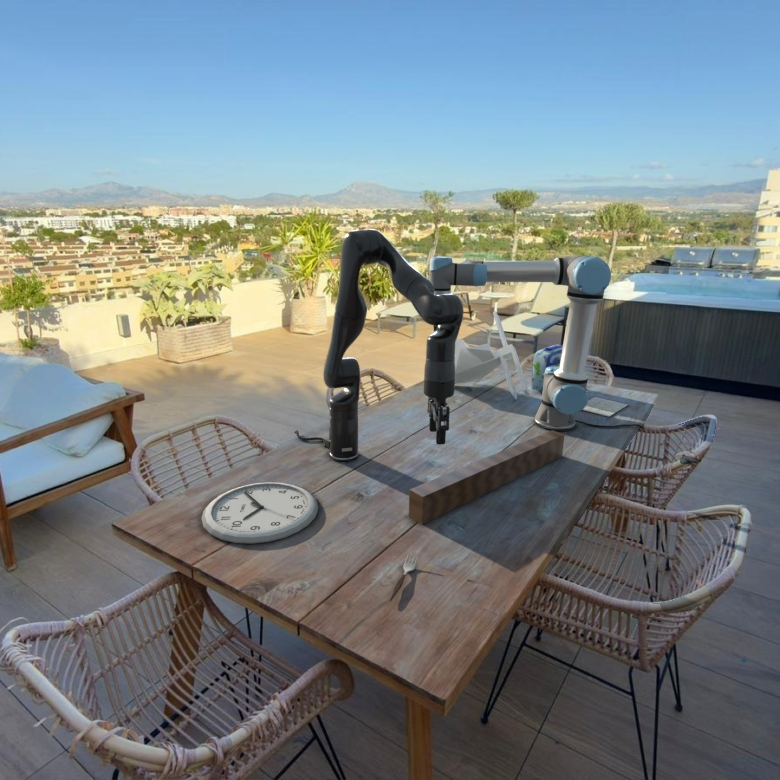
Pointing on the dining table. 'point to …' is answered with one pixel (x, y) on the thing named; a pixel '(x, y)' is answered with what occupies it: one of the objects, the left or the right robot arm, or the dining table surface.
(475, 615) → the dining table surface
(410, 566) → the fork
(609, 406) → the invitation card
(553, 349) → the lunch box
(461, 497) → the beam
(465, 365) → the white plastic object
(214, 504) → the wall clock
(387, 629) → the dining table surface
